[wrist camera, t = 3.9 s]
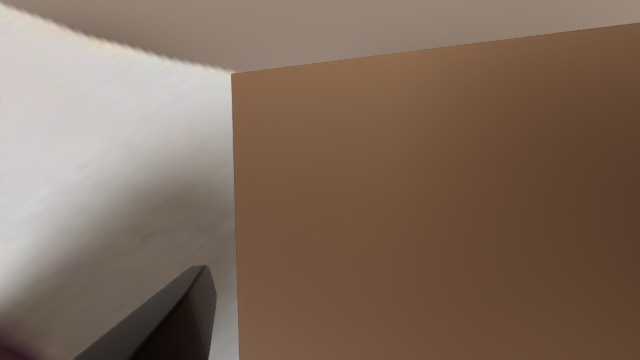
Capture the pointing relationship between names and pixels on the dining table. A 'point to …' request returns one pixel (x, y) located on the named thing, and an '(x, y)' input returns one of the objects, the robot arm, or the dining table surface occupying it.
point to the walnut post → (443, 203)
